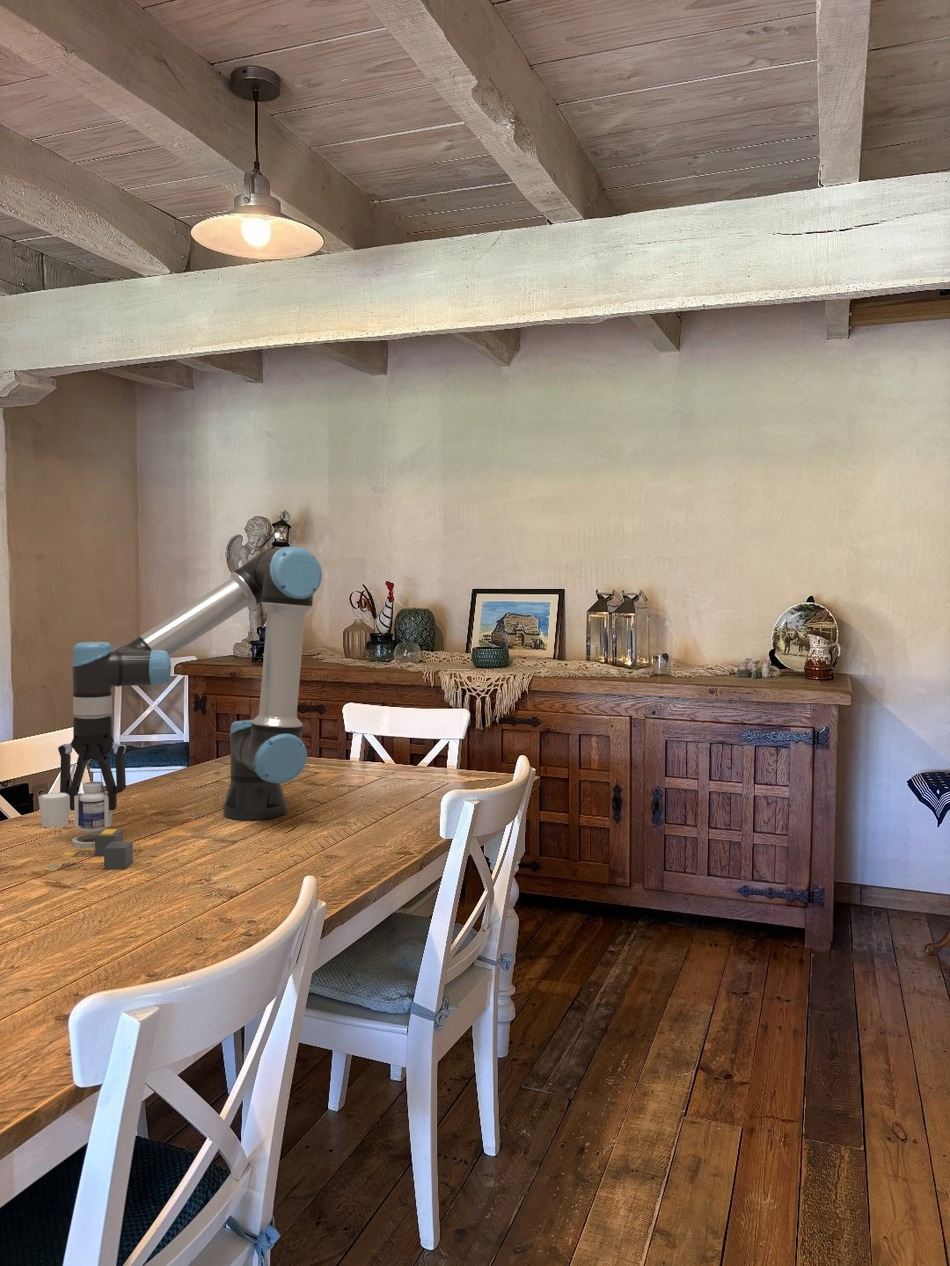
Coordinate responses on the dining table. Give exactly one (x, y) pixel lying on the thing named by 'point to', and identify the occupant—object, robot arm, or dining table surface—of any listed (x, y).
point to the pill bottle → (92, 807)
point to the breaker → (118, 855)
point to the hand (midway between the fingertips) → (93, 825)
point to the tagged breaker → (106, 839)
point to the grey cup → (54, 809)
